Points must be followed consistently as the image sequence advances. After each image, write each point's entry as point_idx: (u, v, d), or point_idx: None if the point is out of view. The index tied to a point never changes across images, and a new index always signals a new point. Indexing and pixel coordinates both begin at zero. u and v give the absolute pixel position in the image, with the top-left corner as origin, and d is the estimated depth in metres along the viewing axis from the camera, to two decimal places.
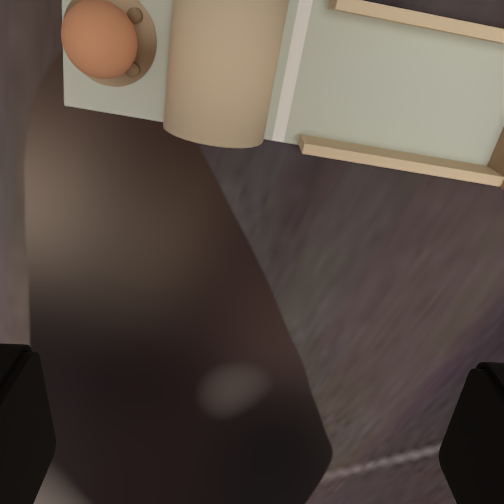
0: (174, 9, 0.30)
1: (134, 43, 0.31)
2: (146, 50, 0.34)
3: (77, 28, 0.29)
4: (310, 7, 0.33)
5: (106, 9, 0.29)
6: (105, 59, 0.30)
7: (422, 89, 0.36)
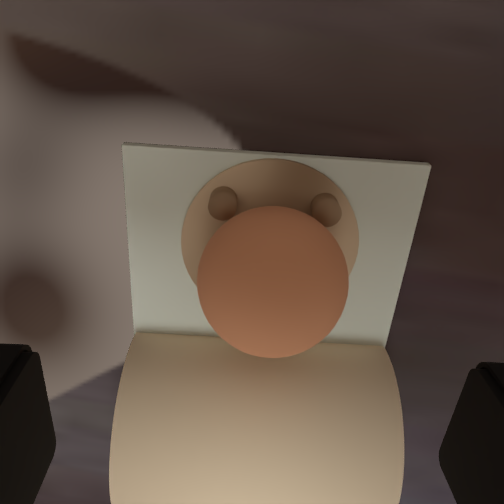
0: (331, 388, 0.17)
1: None
2: None
3: (302, 299, 0.13)
4: None
5: None
6: (242, 342, 0.13)
7: None
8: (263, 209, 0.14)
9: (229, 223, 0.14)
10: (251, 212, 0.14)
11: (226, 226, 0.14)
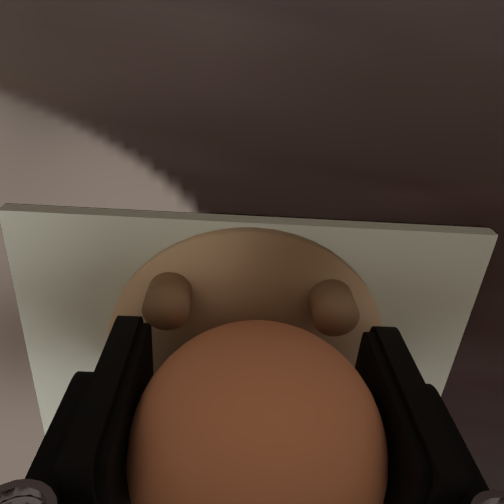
0: None
1: None
2: None
3: None
4: None
5: None
6: None
7: None
8: (239, 340, 0.08)
9: (179, 366, 0.08)
10: (218, 346, 0.08)
11: (173, 372, 0.08)
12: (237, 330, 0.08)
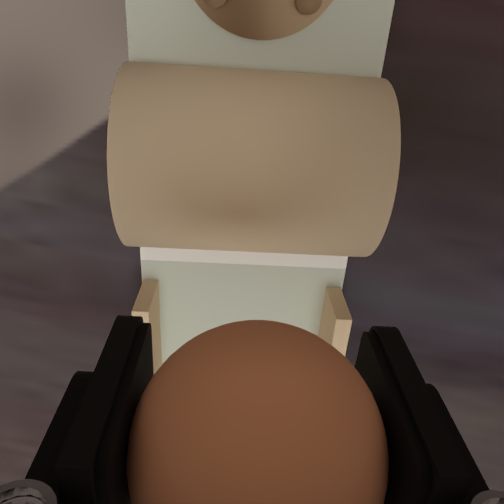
0: (327, 88, 0.18)
1: None
2: (250, 21, 0.18)
3: None
4: (327, 267, 0.24)
5: None
6: None
7: None
8: (239, 340, 0.08)
9: (179, 366, 0.08)
10: (218, 346, 0.08)
11: (174, 372, 0.08)
12: (237, 330, 0.08)
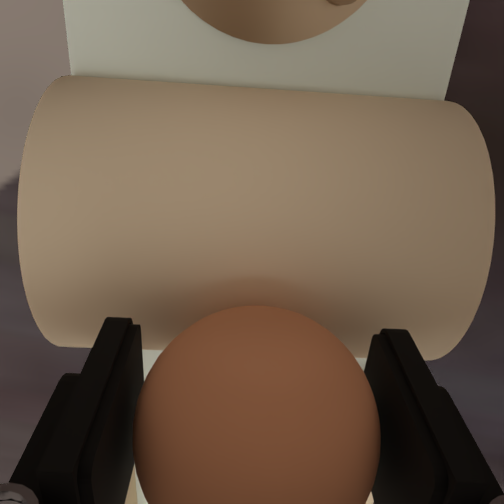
0: (374, 120, 0.11)
1: None
2: (253, 15, 0.12)
3: None
4: None
5: None
6: None
7: None
8: (239, 322, 0.08)
9: (182, 347, 0.08)
10: (219, 328, 0.08)
11: (177, 352, 0.08)
12: (237, 313, 0.09)
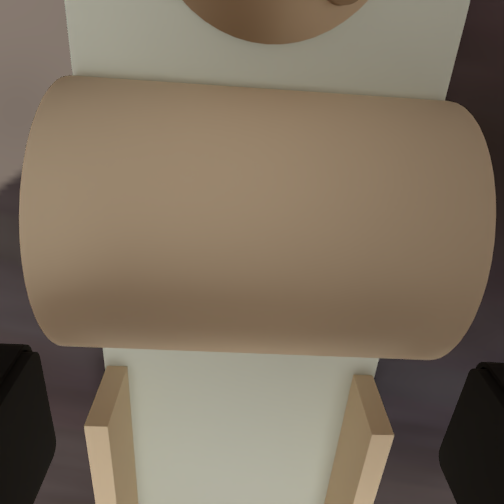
0: (375, 120, 0.11)
1: None
2: (254, 15, 0.12)
3: None
4: None
5: None
6: None
7: None
8: None
9: None
10: None
11: None
12: None
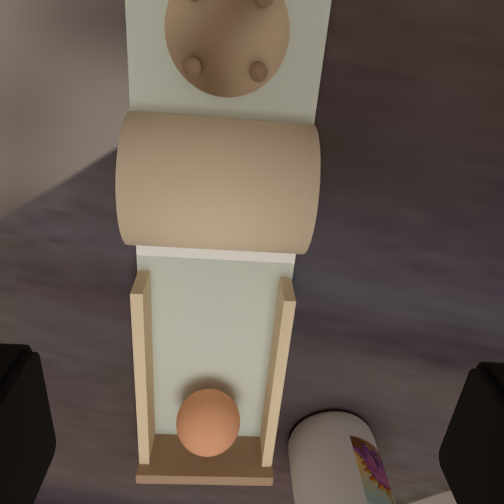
0: (271, 134, 0.25)
1: None
2: (218, 84, 0.26)
3: None
4: (280, 262, 0.32)
5: None
6: None
7: (216, 369, 0.36)
8: (200, 441, 0.33)
9: (186, 439, 0.33)
10: (195, 441, 0.33)
11: (185, 439, 0.33)
12: (200, 436, 0.33)
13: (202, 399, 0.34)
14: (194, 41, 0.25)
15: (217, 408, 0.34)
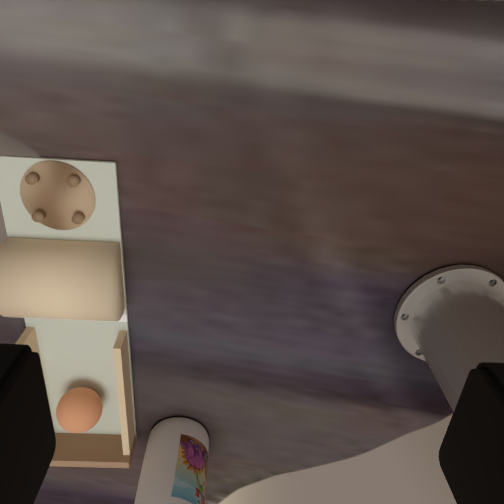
0: (85, 255, 0.42)
1: None
2: (57, 223, 0.43)
3: (79, 428, 0.50)
4: (117, 321, 0.49)
5: (96, 423, 0.51)
6: None
7: None
8: (70, 400, 0.50)
9: (61, 403, 0.50)
10: (67, 401, 0.50)
11: (60, 404, 0.50)
12: (71, 397, 0.50)
13: None
14: (39, 201, 0.42)
15: (87, 388, 0.52)
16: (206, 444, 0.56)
